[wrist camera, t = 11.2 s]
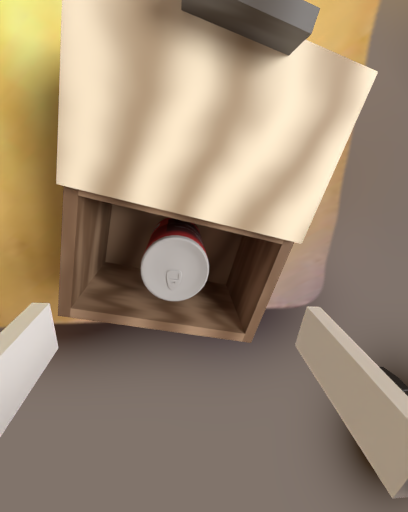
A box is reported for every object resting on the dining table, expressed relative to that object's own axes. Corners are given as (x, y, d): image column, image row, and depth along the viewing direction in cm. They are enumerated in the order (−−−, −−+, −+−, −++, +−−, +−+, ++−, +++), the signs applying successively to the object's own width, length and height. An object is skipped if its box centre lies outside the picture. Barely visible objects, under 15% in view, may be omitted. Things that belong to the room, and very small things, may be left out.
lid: (62, 183, 19) (33, 187, 15) (71, -53, 14) (33, -130, 10) (296, 240, 23) (318, 255, 19) (367, 76, 18) (415, 54, 15)
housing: (98, 264, 36) (57, 315, 24) (121, 48, 26) (74, -48, 14) (229, 289, 40) (250, 342, 28) (291, 111, 30) (365, 77, 18)
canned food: (156, 266, 36) (148, 306, 26) (146, 218, 33) (131, 242, 23) (203, 259, 37) (213, 296, 26) (197, 211, 33) (205, 232, 23)
